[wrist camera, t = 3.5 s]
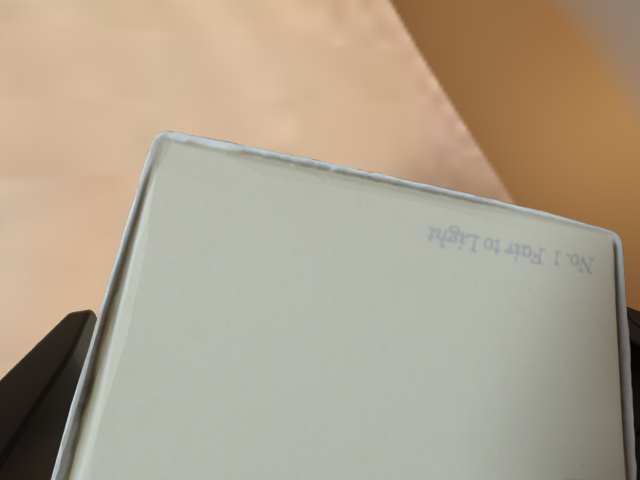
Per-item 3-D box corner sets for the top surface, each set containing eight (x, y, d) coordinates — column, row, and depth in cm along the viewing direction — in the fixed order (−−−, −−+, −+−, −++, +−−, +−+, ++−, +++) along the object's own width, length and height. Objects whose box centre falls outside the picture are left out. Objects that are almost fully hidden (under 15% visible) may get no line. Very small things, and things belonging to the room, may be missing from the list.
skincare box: (353, 293, 17) (640, 222, 5) (340, 400, 16) (670, 620, 4) (207, 267, 15) (152, 99, 4) (182, 382, 14) (0, 626, 3)
